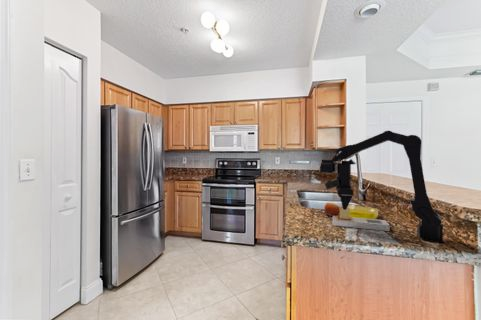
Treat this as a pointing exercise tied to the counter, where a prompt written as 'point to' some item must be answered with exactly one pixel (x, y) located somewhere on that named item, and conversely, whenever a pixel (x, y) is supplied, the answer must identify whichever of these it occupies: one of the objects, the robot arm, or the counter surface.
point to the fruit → (331, 209)
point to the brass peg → (344, 213)
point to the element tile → (363, 212)
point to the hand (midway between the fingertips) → (343, 207)
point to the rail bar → (362, 223)
